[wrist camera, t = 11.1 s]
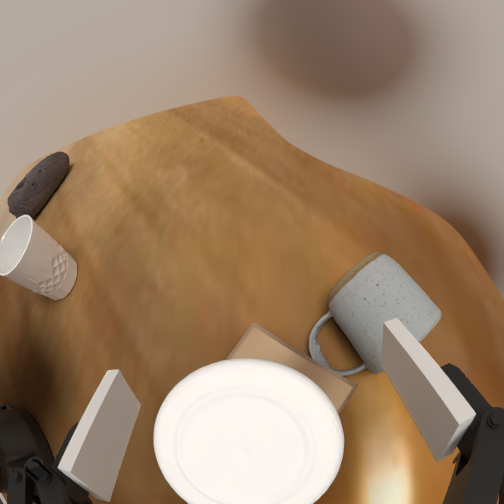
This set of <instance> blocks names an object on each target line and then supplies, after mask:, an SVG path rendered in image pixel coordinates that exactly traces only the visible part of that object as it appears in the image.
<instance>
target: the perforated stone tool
mask: <svg viewBox="0 0 504 504" xmlns="http://www.w3.org/2000/svg"><path fill="white" fill-rule="evenodd" d="M68 167H69V157H68V155H67V154H66V153H64V152H56V153H54V154H51V155H49V156H48V157H46V158H45V159H43V160H42V161H41V162H39V163H38V164H37V165H36V166H35V167H34V168H33V169H32V170H31V171H30V172H29V173H28V174H27V175H26V176H25V177H24V179H23V180H22V181H21V182H20V183H19V184H18V185H17V187H16V188H15V189H14V191H13V192H12V193H11V195H10V196H9V198H8V205H9V212H11V213H12V214H13V215H15V216H16V219H17V218H19V217H20V216H22V215H29V216H30V217H31V218H32V219H33V218H34V217H35V216H36V215H37V213H38V212H39V211H40V210H41V209H42V208H43V206H44V205H45V204H46V202H47V201H48V200H49V198H50V197H51V195H52V194H53V193H54V191H55V190H56V188H57V187H58V186H59V184H60V183H61V181H62V180H63V178H64V177H65V175H66V173H67V170H68Z"/></svg>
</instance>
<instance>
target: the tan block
mask: <svg viewBox="0 0 504 504" xmlns="http://www.w3.org/2000/svg"><path fill="white" fill-rule="evenodd" d="M241 358H252V359H262V360H268V361H273V362H277V363H280V364H283V365H285V366H288V367H290V368H292V369H295V370H296V371H298V372H300V373H302V374H304V375H305V376H306V377H308V378H309V379H310V380H312V381H313V382H314V383H315V384H316V385H317V386H319V387H320V388H321V389H322V391H323V392H324V393H325V394H326V395H327V396H328V398H329V399H330V400H331V402H332V403H333V405H334V407H335V408H336V411H337V413H338V415H339V414H340V412H341V411H342V409H343V408H344V406H345V405H346V403H347V402H348V400H349V399H350V397H351V396H352V394H353V392H354V391H355V389H356V388H357V386H358V385H356V384H355V383H353V382H351V381H349V380H348V379H346V378H344V377H342V376H341V375H339V374H337V373H335V372H334V371H332V370H330V369H329V368H327V367H325V366H323V365H322V364H320V363H318V362H317V361H315V360H313V359H312V358H310V357H308V356H307V355H305V354H303V353H302V352H300V351H299V350H297V349H295V348H294V347H292V346H291V345H289V344H287V343H286V342H284V341H283V340H281V339H279V338H278V337H276V336H275V335H273V334H272V333H270V332H268V331H267V330H265V329H264V328H262V327H261V326H259V325H258V324H256V323H255V322H253V323H252V324H251V326H250V327H249V328H248V330H247V331H246V333H245V334H244V335H243V337H242V338H241V339H240V341H239V342H238V344H237V345H236V346H235V348H234V349H233V350H232V352H231V353H230V354H229V356H228V357H227V358H226V360H230V359H241Z"/></svg>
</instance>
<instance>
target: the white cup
mask: <svg viewBox="0 0 504 504" xmlns="http://www.w3.org/2000/svg"><path fill="white" fill-rule="evenodd" d="M77 273H78V272H77V263H76V261H75V260H74V258H73V257H72V256H71V255H70V254H69V253H68V252H66V251H65V250H64V249H63V248H62V247H61V245H60V244H58V243H57V242H56V241H55V240H54V239H53V238H52V237H51V236H50V235H49V234H48V233H47V232H46V231H45V230H44V229H43V228H41V227H40V226H39V225H38V224H37V223H36V222H35V221H34V220H33V219H32V218H31V217H30V216H29V215H22V216H20V217H19V218H17V219H16V220H15V221H14V222H13V223H12V224H11V225H10V226H9V228H8V229H7V231H6V232H5V234H4V236H3V238H2V240H1V242H0V275H1V276H3V277H5V278H7V279H9V280H11V281H13V282H15V283H17V284H18V285H20V286H22V287H24V288H27V289H29V290H31V291H33V292H35V293H38V294H42V295H44V296H46V297H49V298H51V299H53V300H60V299H63V298H64V297H65V296H67V295H68V294H69V293H70V291H71V289H72V288H73V286H74V284H75V281H76V277H77Z"/></svg>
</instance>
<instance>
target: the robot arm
mask: <svg viewBox="0 0 504 504" xmlns="http://www.w3.org/2000/svg"><path fill="white" fill-rule="evenodd" d="M381 366H382V368H383V369H384V371H385V372H386V374H387V376H388V377H389V379H390V381H391V382H392V384H393V386H394V387H395V389H396V391H397V392H398V394H399V396H400V397H401V399H402V401H403V403H404V404H405V406H406V408H407V409H408V411H409V413H410V415H411V416H412V418H413V420H414V422H415V423H416V425H417V427H418V429H419V431H420V432H421V434H422V436H423V438H424V440H425V441H426V443H427V445H428V447H429V449H430V451H431V453H432V454H433V456H434V458H435V460H436V462H437V461H439V460H441V459H443V458H445V457H446V456H448V455H450V454H452V453H453V451H454V450H455V448H456V447H458V449H459V450H460V452H459V453H458V455H457V456H456V457H455V459H454V461H453V463H455V462H456V461H457V462H456V465H455V469H454V472H453V475H452V478H451V482H450V485H449V487H448V490H447V493H446V496H445V499H444V501H443V504H496V503H497V499H498V495H499V504H504V409H503V408H499V407H494V408H493V407H491V406H490V405H489V404H488V402H487V401H486V400H485V399H484V397H483V396H482V395H481V394H480V392H479V391H478V390H477V389H476V388H475V386H474V385H473V384H471V382H470V380H469V379H468V378H466V376H465V375H464V373H463V372H462V371H461V370H460V369H459V368H458V367H456V366H454V365H452V364H450V363H448V364H446V365H444V366H442V367H439V366H438V364H437V363H436V362H435V361H434V360H433V358H432V357H431V356H430V355H429V354H428V352H427V351H426V350H425V349H424V348H423V347H422V345H421V344H420V343H419V342H418V341H417V340H416V338H415V337H414V336H413V335H412V334H411V333H410V332H409V331H408V329H407V328H406V327H405V326H404V325H403V324H402V323H401V322H400V320H399V319H398V318H395V319H392V320H389V321H386V322H383V341H382V355H381ZM140 407H141V404H140V403H139V401H138V400H137V398H136V396H135V395H134V393H133V392H132V390H131V389H130V387H129V385H128V384H127V382H126V380H125V379H124V377H123V375H122V374H121V372H120V370H108V371H107V372H106V374H105V376H104V378H103V379H102V381H101V383H100V385H99V387H98V388H97V390H96V392H95V394H94V396H93V397H92V399H91V401H90V403H89V405H88V407H87V409H86V411H85V413H84V414H83V416H82V418H81V420H80V422H79V424H78V423H76V424H75V425H74V426H73V427H72V428H71V429H70V430H69V432H68V434H67V436H66V439H65V440H64V442H63V446H61V448H60V450H59V452H58V454H57V456H56V459H55V461H54V460H53V457H52V454H51V451H50V448H49V446H48V443H47V441H46V439H45V437H44V435H43V433H42V431H41V429H40V428H39V426H38V424H37V423H36V421H35V420H34V419H33V417H32V416H31V415H30V414H29V413H28V412H27V411H26V410H25V409H23V408H22V407H20V406H18V405H13V404H6V403H2V404H0V493H6V494H8V495H7V504H33V502H34V503H35V504H92V501H91V500H90V498H88V494H89V493H90V494H91V495H92V496H94V497H95V498H97V499H100V500H104V501H108V502H110V499H111V496H112V492H113V489H114V486H115V482H116V479H117V476H118V473H119V469H120V466H121V463H122V460H123V457H124V454H125V451H126V448H127V445H128V442H129V439H130V436H131V433H132V430H133V427H134V424H135V422H136V419H137V416H138V413H139V410H140Z"/></svg>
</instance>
